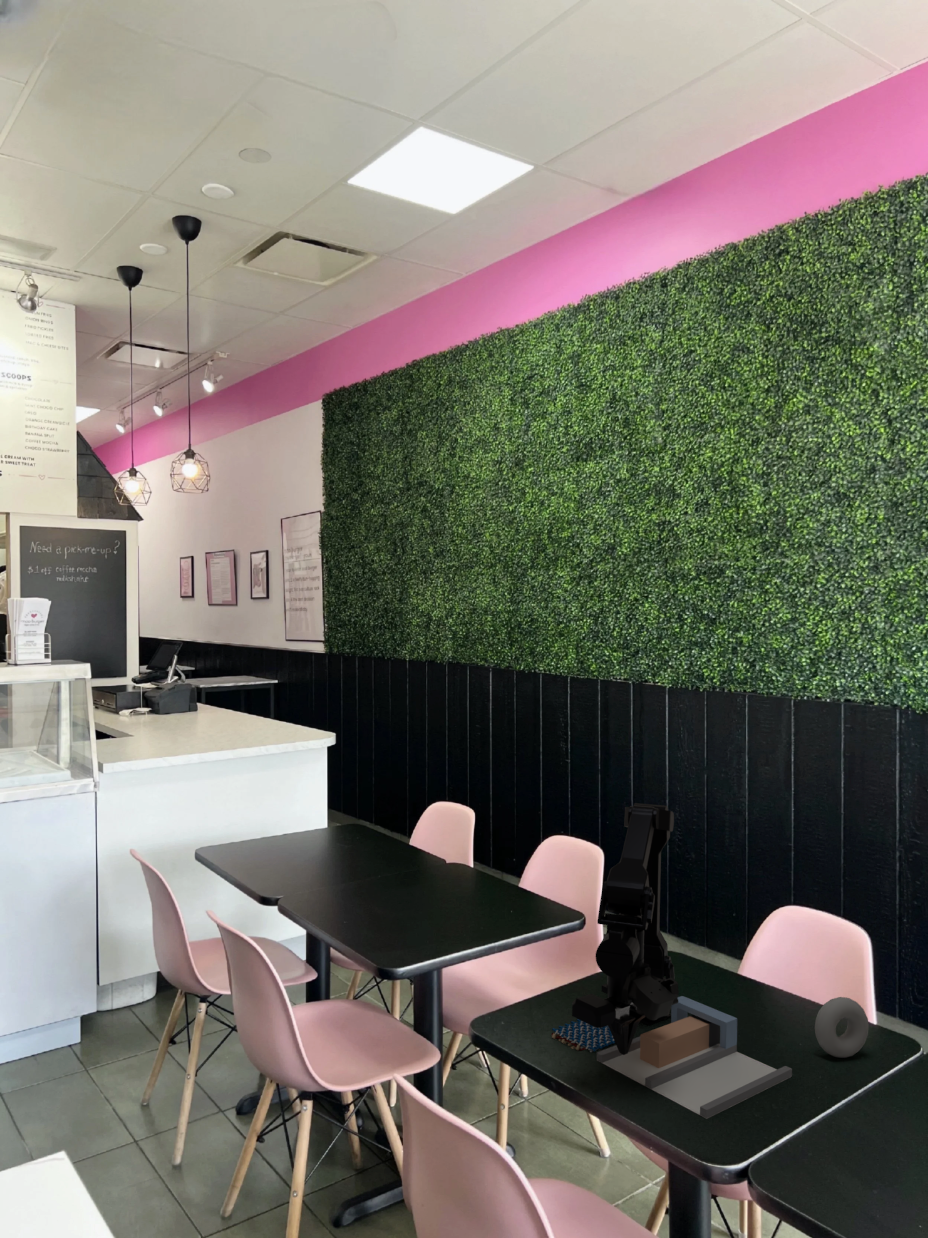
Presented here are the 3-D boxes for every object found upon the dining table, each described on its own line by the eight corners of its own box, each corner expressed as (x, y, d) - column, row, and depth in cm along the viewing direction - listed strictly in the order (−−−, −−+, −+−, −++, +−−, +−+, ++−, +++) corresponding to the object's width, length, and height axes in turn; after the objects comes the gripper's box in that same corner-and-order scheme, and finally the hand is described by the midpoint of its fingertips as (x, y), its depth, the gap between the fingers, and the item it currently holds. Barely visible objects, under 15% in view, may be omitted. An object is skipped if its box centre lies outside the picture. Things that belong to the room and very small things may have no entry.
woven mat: (594, 1063, 149) (594, 1050, 149) (548, 1040, 157) (548, 1028, 157) (634, 1046, 156) (634, 1034, 156) (588, 1025, 164) (588, 1014, 164)
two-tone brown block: (639, 1059, 148) (640, 1034, 148) (700, 1035, 158) (701, 1012, 158) (658, 1068, 145) (659, 1043, 145) (719, 1043, 155) (720, 1020, 155)
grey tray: (596, 1065, 147) (597, 1025, 148) (681, 1031, 161) (682, 996, 161) (706, 1124, 130) (707, 1079, 130) (791, 1081, 144) (792, 1041, 144)
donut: (859, 1049, 156) (859, 991, 156) (872, 1058, 152) (873, 999, 153) (809, 1055, 153) (810, 996, 153) (822, 1064, 150) (823, 1004, 150)
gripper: (624, 984, 132) (621, 1091, 131) (703, 959, 143) (701, 1057, 143) (570, 962, 140) (568, 1062, 140) (649, 939, 152) (647, 1032, 152)
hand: (623, 1053), depth 143 cm, fingers closed
